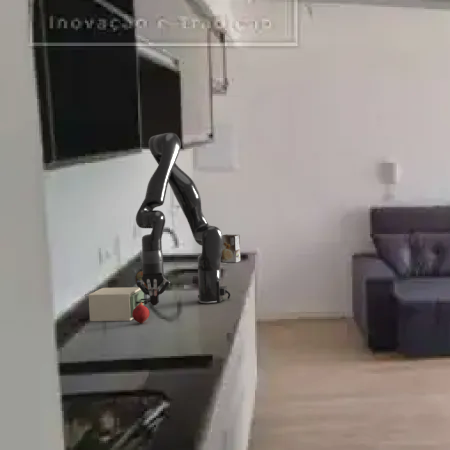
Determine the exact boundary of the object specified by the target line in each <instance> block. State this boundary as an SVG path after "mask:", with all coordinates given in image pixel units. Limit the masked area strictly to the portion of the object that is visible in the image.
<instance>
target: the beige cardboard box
mask: <svg viewBox="0 0 450 450" xmlns="http://www.w3.org/2000/svg"><path fill="white" fill-rule="evenodd" d="M140 290H141V289H140V288H139V287H137V286H136V287H132V286H131V287H130V286H129V287H101V288H99V289H97V290H96V291H93V292H91V293H89V294H88V311H89V322H127V321H129V322H130V321H132V320H134V318H131V310H130V296H131V295H133V294H134V293H137V292H138V291H140Z"/></svg>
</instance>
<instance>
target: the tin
mask: <svg viewBox="0 0 450 450" xmlns="http://www.w3.org/2000/svg"><path fill="white" fill-rule="evenodd" d="M142 276H143V270H140V271H137V273H136V275H135V280H134V281H135V284H136V283H137V282H139V281H140V280H142ZM144 285H145V286H146V288H147V289H148V286H147V285H146V284H145V283H144ZM136 287H138V286H137V285H136Z"/></svg>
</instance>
